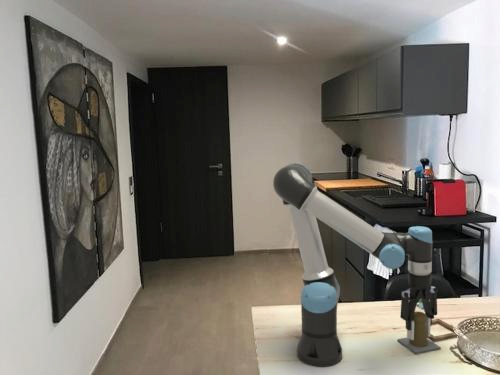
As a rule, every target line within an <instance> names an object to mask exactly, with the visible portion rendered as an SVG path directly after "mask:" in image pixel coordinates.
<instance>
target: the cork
mask: <svg viewBox="0 0 500 375" xmlns="http://www.w3.org/2000/svg"><path fill="white" fill-rule="evenodd" d="M412 321H414V340H411V339H410V340H409V343H410V344H411V345H413V346H415V347H426V346H427V345H428V342H427V339H428V338H427V334H426V326H425V323H426V321H427V316H426V314H425V312H422V311H416V310H415V312H414V316H413V319H412Z"/></svg>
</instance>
